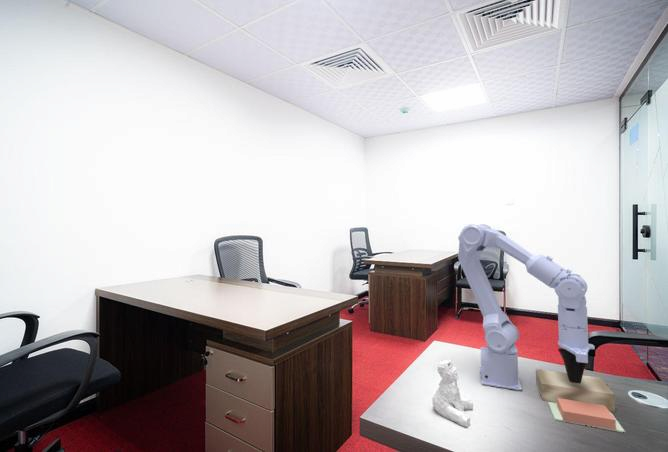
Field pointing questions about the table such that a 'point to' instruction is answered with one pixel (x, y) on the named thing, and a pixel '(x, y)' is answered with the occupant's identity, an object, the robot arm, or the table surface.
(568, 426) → the table surface
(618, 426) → the mat
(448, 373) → the seated beast figurine
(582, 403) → the salmon pink block
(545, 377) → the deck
